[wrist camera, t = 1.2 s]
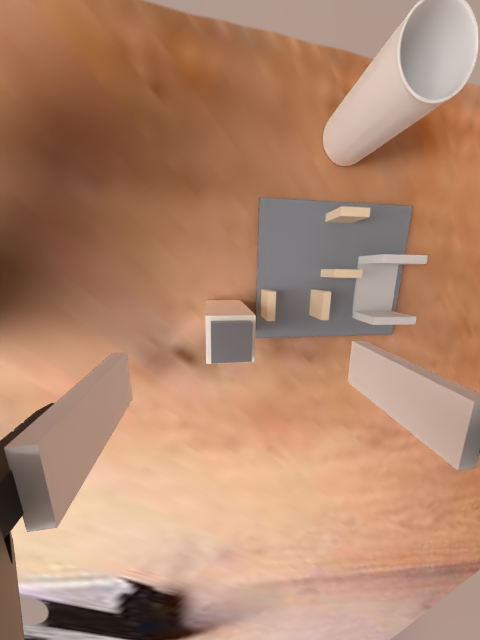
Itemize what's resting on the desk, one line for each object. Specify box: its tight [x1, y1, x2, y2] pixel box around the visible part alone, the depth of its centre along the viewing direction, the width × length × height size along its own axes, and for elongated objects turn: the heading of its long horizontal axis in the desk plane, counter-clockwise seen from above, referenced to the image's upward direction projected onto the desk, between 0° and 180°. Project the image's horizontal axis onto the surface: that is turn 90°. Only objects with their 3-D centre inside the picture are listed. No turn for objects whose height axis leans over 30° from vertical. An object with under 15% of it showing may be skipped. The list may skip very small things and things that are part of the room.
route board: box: [255, 197, 428, 338], centre depth 29 cm, size 21×18×5 cm
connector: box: [205, 300, 256, 364], centre depth 26 cm, size 4×4×12 cm
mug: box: [323, 0, 479, 166], centre depth 22 cm, size 10×7×12 cm, turn 157°
